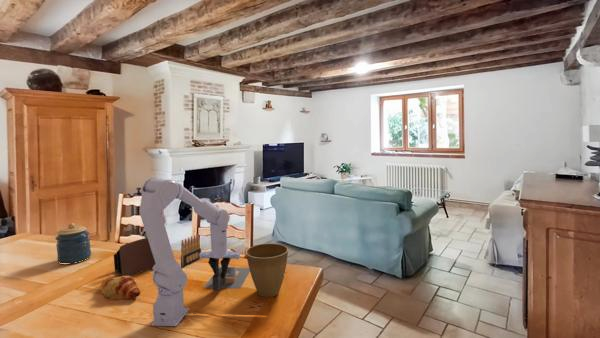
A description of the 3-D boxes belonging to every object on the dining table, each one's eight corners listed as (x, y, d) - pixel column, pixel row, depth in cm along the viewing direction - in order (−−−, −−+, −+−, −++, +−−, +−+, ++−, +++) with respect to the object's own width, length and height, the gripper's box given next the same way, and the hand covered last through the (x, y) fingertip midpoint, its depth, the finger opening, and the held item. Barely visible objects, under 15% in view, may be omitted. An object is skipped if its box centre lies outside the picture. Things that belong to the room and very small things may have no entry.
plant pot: (296, 288, 118) (295, 246, 116) (273, 307, 105) (272, 261, 103) (264, 279, 125) (263, 240, 123) (238, 296, 112) (237, 253, 111)
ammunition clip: (184, 267, 139) (182, 240, 137) (180, 266, 139) (179, 240, 138) (201, 258, 148) (200, 233, 147) (198, 257, 149) (197, 233, 147)
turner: (226, 290, 112) (226, 277, 111) (204, 290, 112) (204, 276, 112) (236, 276, 123) (235, 263, 123) (216, 276, 124) (215, 263, 123)
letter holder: (170, 263, 143) (168, 233, 141) (122, 278, 129) (119, 245, 127) (161, 258, 150) (159, 229, 148) (114, 271, 136) (111, 239, 134)
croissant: (96, 299, 119) (84, 285, 115) (118, 277, 127) (107, 264, 123) (133, 312, 110) (121, 297, 106) (154, 287, 117) (143, 273, 113)
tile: (234, 279, 122) (239, 271, 129) (216, 278, 122) (222, 270, 129) (234, 282, 122) (239, 274, 129) (216, 282, 123) (222, 274, 129)
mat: (240, 289, 117) (240, 288, 117) (203, 288, 119) (203, 287, 119) (251, 269, 135) (251, 267, 135) (219, 268, 136) (219, 267, 136)
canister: (96, 257, 152) (93, 221, 150) (65, 267, 141) (61, 228, 139) (83, 252, 158) (80, 218, 156) (52, 261, 148) (48, 224, 146)
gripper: (241, 238, 119) (242, 272, 121) (203, 237, 120) (205, 272, 122) (236, 244, 112) (237, 281, 114) (196, 244, 113) (198, 280, 115)
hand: (220, 277), depth 117 cm, fingers closed on turner
